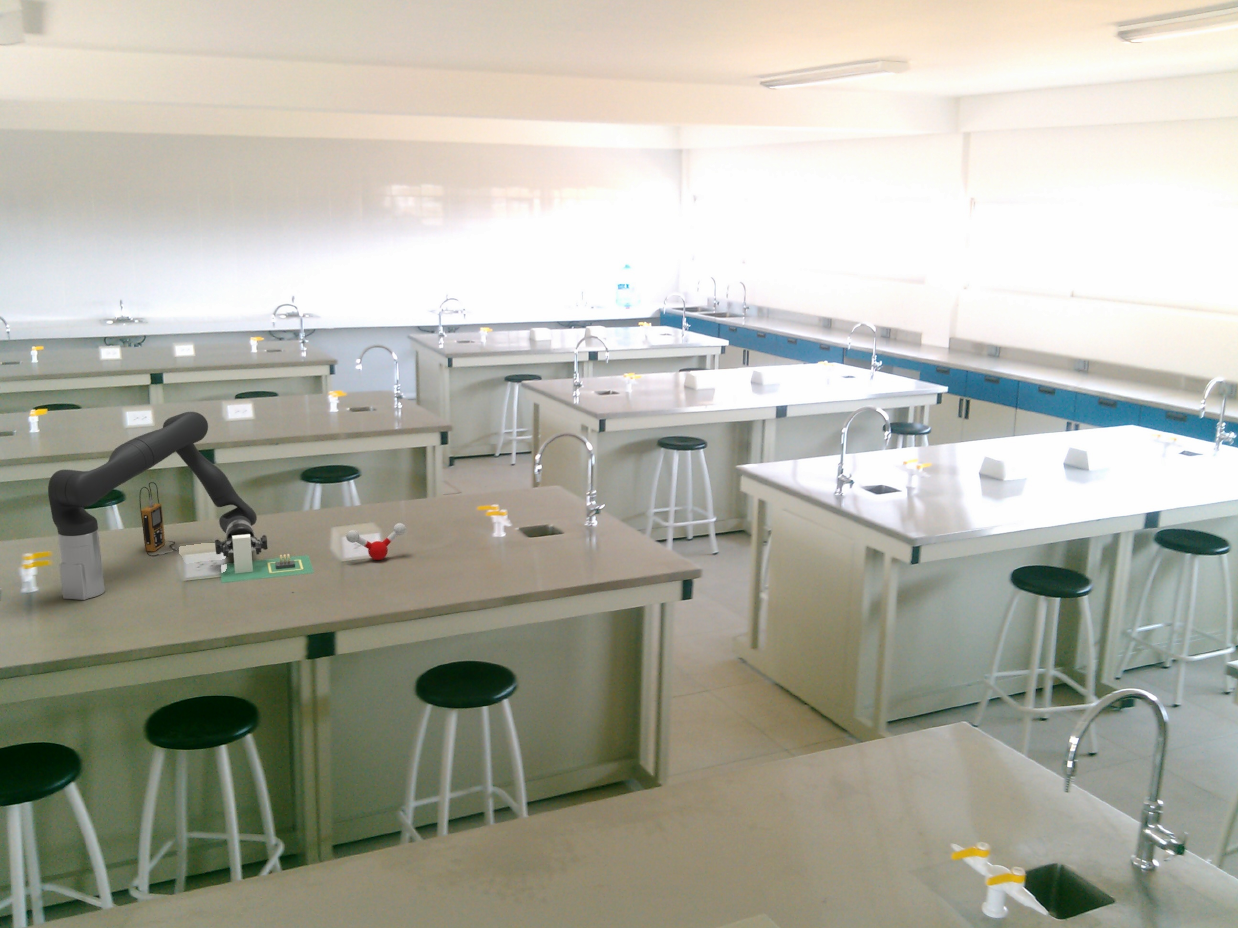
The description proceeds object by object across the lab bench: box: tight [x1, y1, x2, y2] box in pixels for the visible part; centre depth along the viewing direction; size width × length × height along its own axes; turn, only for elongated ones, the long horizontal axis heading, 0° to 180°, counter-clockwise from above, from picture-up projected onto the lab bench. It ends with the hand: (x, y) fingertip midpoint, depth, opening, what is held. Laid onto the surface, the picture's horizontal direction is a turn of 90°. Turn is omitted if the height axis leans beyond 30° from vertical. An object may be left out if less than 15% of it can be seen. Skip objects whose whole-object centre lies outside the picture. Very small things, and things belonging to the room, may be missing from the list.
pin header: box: [275, 553, 295, 569], centre depth 281 cm, size 3×5×4 cm
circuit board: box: [220, 554, 315, 584], centre depth 279 cm, size 24×16×2 cm, turn 113°
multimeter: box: [138, 482, 178, 557], centre depth 296 cm, size 15×10×20 cm
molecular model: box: [345, 522, 407, 561], centre depth 292 cm, size 18×6×10 cm, turn 120°
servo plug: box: [232, 534, 253, 573], centre depth 276 cm, size 3×5×10 cm, turn 113°
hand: (242, 552), depth 274 cm, fingers open, 7 cm apart
